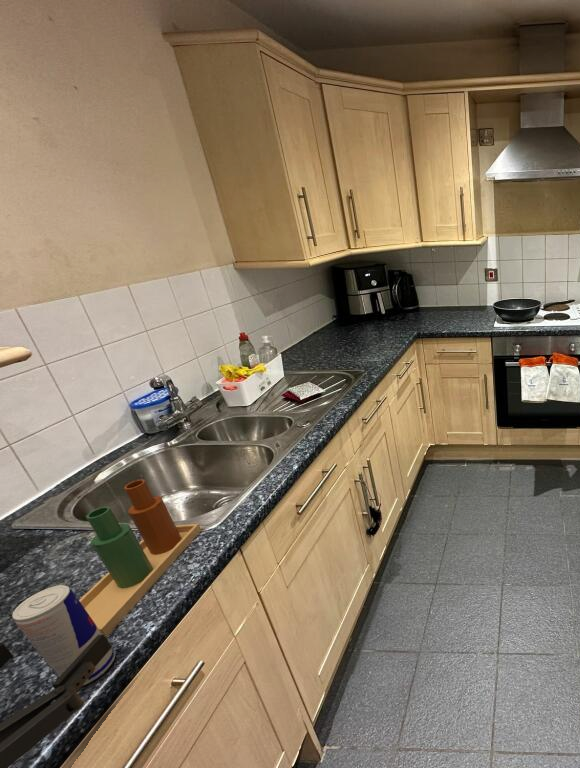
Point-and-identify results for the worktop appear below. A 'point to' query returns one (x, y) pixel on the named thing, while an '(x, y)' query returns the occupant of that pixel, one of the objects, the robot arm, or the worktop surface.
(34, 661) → the worktop surface
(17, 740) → the robot arm
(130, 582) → the green bottle
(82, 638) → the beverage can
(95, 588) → the tray
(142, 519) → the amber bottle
